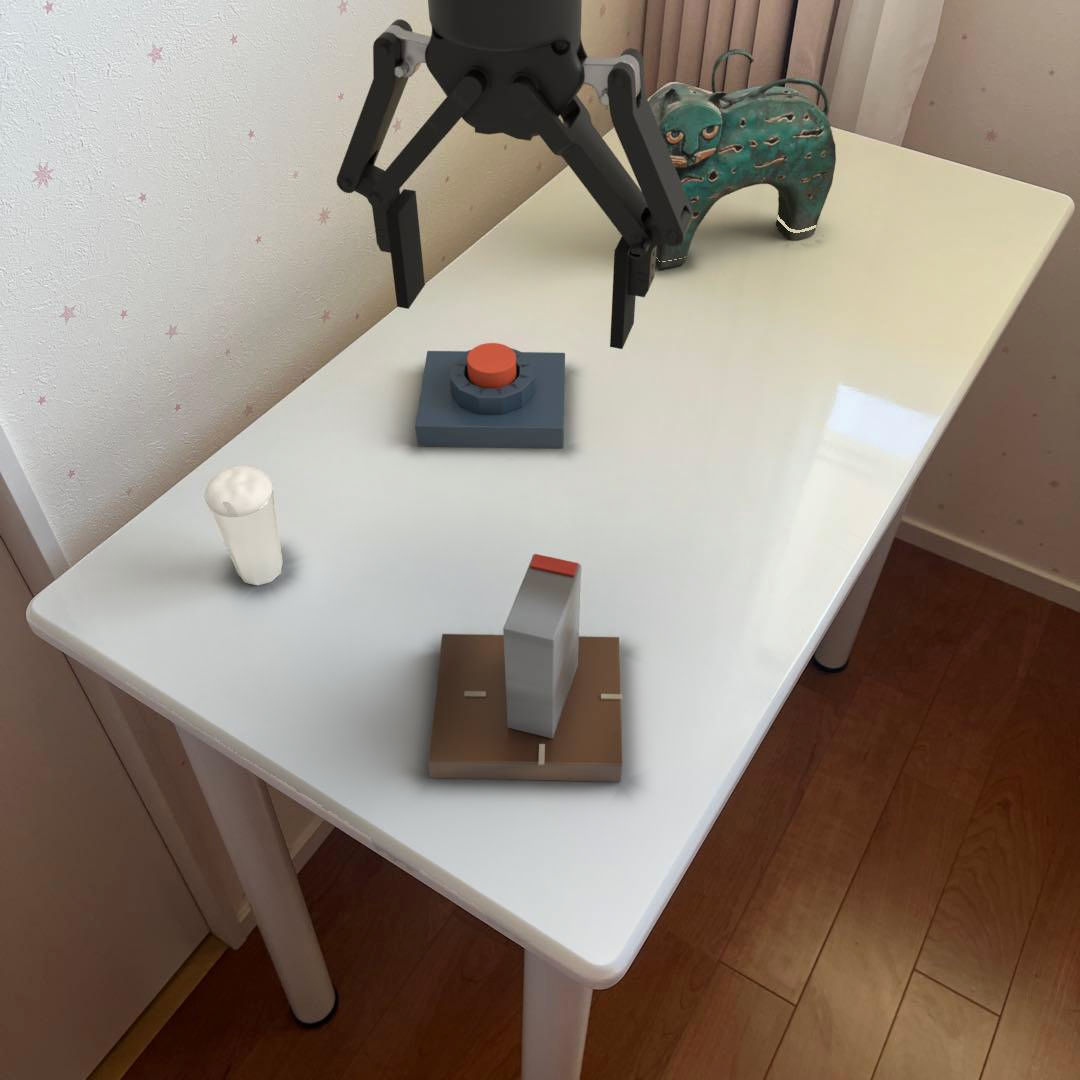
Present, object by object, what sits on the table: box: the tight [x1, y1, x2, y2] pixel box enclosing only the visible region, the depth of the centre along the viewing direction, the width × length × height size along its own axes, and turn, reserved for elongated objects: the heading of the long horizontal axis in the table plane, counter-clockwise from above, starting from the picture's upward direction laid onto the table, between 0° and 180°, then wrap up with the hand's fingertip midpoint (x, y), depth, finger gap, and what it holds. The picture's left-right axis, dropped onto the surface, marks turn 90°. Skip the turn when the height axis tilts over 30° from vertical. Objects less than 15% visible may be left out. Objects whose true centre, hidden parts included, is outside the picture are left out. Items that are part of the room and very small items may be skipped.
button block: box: [415, 347, 566, 449], centre depth 92 cm, size 12×10×4 cm
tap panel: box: [427, 633, 624, 783], centre depth 72 cm, size 12×10×2 cm
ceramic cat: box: [648, 48, 837, 271], centre depth 104 cm, size 20×6×20 cm, turn 109°
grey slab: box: [502, 553, 582, 738], centre depth 67 cm, size 6×3×10 cm, turn 163°
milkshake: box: [203, 465, 284, 586], centre depth 78 cm, size 5×5×10 cm
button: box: [467, 342, 516, 389], centre depth 91 cm, size 4×4×2 cm
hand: (514, 315), depth 67 cm, fingers open, 13 cm apart
